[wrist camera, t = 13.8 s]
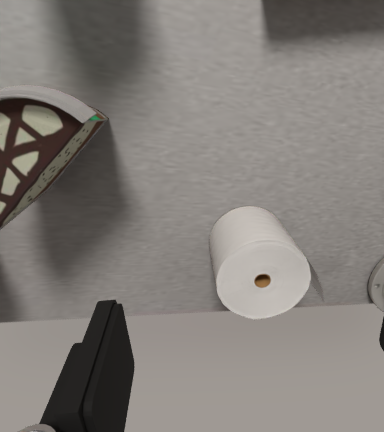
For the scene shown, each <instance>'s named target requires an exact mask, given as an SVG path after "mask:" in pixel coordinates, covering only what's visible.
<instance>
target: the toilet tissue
mask: <svg viewBox="0 0 384 432" xmlns="http://www.w3.org/2000/svg"><path fill="white" fill-rule="evenodd" d="M209 245H210V246H209V248H210V253H211V260H212V264H213V272H214V276H215V282H216V288H217V292H218V296H219V297H220V299H221V301H222V303H223V305H225V306H226V307H227V308H228V309H229V310H230V311H232V312H233V313H235V314H238V315H240V316H243V317H247V318H250V319H263V318H270V317H274V316H277V315H279V314H282V313H284V312H286V311H288V310H289V309H291V308H292V307H294V306H295V305H296V304H297V303H298V302H299V301H300V300H301V298H302V297H303V296H304V295H305V293H306V291H307V290H308V288H309V283H310V282H311V283H312V285H313V286H314V288H315V289H316V291H317V293H318V294H319V296H320V297H321V299H322V300H323V301H324V295H323V290H322V287H321V284H320V282H319V280H318V276H317V274H316V272H315V270H314V269H313V267H312V266H311V264H310V262H309V261H308V260H307V258H306V257H305V255H304V254H303V253H302V251H301V250H300V248H299V247H298V246H297V244H296V243H295V241H294V240H293V239H292V238H291V236H290V235H289V233H288V232H287V230H286V229H285V228H284V226H283V225H282V224H281V222H280V221H279V220H278V218H277V217H275V216H274V215H273V214H272V213H271V212H269V211H267V210H265V209H263V208H259V207H254V206H246V207H239V208H236V209H233V210H231V211H229V212H227V213H226V214H225V215H223V216H222V217H221V218H220V219H219V220H218V221H217V222H216V223H215V225H214V227H213V229H212V231H211V234H210V239H209Z"/></svg>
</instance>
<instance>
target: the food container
mask: <svg viewBox="0 0 384 432" xmlns="http://www.w3.org/2000/svg"><path fill="white" fill-rule="evenodd" d="M108 119H109V118H108V117H106V116H105V115H104V114H102V113H101V112H100V111H99V110H97V109H94V108H92V107H90V106H87V105H86V104H84V103H83V102H81V101H79V100H78V99H76V98H74V97H72V96H70V95H68V94H65V93H63V92H60V91H58V90H55V89H51V88H47V87H42V86H32V85H20V86H10V87H6V88H3V89H0V230H1V229H2V228H3V227H4V226H5V225H7V224H8V223H9V222H10V221H11V220H13V219H14V218H15V217H16V216H17V215H19V214H20V213H21V212H22V211H23V210H25V209H26V208H27V207H28V206H29V205H31V204H32V203H33V202H34V201H35V200H37V199H38V198H39V197H40V196H41V195H43V194H44V193H45V192H46V191H47V190H49V189H50V188H51V186H52V185H53V184H54V183H55V182H56V180H57V179H58V178H59V177H60V176H61V174H62V173H63V172H64V171H65V170H66V169H67V167H68V166H69V165H70V164H71V163H72V161H73V160H74V159H75V158H76V157H77V155H78V154H79V153H80V152H81V151H82V150H83V148H84V147H85V146H86V145H87V144H88V142H89V141H90V140H91V139H92V138H93V136H94V135H95V134H96V133H97V132H98V131H99V129H100V128H101V127H102V126H103V125H104V123H105V122H106V121H107V120H108Z"/></svg>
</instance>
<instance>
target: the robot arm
mask: <svg viewBox="0 0 384 432" xmlns="http://www.w3.org/2000/svg"><path fill="white" fill-rule="evenodd" d="M368 292H369V295H370V298H371V300H372V301H373V303H374V304H375V305H376V306H377V307H378V308H379V309H380V310H381V311H383V312H384V258H383V259H382V260H381V261H380V262H379V263H378V264H377V266H376V267H375V269H374V270H373V272H372V274H371V276H370V279H369V284H368ZM379 341H380V345H381V347H382V349H383V351H384V318H383V323H382V328H381V333H380V339H379ZM133 374H134V358H133V354H132V349H131V344H130V339H129V335H128V331H127V325H126V321H125V316H124V311H123V307H122V304H117V302H116V300H107V301H99V302H98V303H97V305H96V308H95V310H94V313H93V315H92V318H91V321H90V323H89V326H88V328H87V331H86V334H85V336H84V339H83V342H82V343H75V344H74V345H73V346H72V348H71V350H70V352H69V354H68V357H67V359H66V362H65V364H64V366H63V369H62V371H61V374H60V376H59V378H58V381H57V383H56V385H55V388H54V391H53V393H52V395H51V397H50V400H49V402H48V404H47V407H46V409H45V411H44V414H43V416H42V419H41V421H40V423H39V424H35V425H32V426H28V427H26V428H24V429H23V430H20V431H19V432H124V429H125V423H126V417H127V410H128V405H129V399H130V393H131V386H132V380H133Z"/></svg>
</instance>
